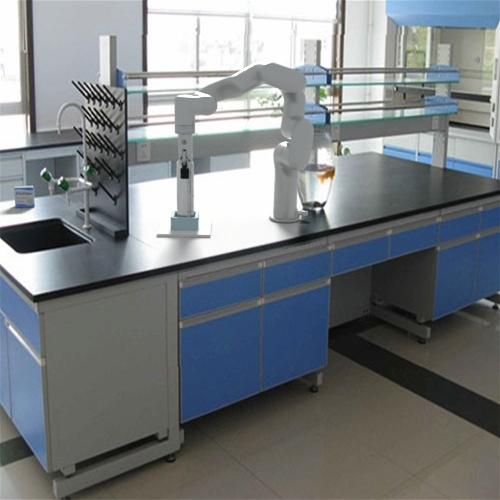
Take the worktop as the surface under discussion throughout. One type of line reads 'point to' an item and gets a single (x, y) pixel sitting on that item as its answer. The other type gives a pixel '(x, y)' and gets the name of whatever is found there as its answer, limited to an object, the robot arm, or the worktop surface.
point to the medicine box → (24, 196)
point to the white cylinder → (185, 192)
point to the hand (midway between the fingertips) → (185, 176)
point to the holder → (184, 226)
